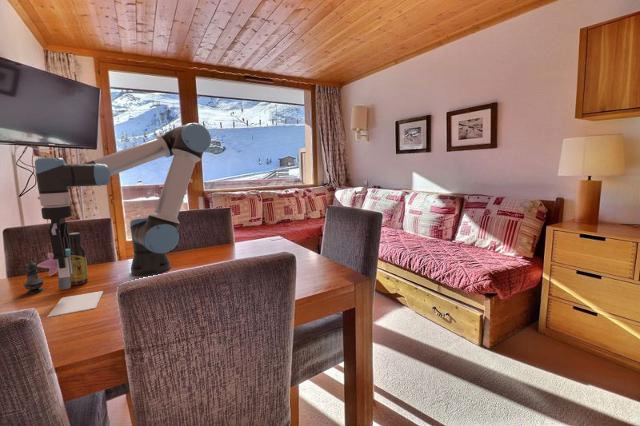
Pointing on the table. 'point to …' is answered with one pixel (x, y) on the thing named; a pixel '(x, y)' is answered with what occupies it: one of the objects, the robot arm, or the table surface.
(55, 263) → the lily
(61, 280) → the marker
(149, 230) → the robot arm
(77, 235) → the sauce bottle
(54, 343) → the table surface
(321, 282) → the table surface
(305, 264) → the table surface
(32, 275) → the dark grey chess piece
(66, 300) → the paper
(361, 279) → the table surface
